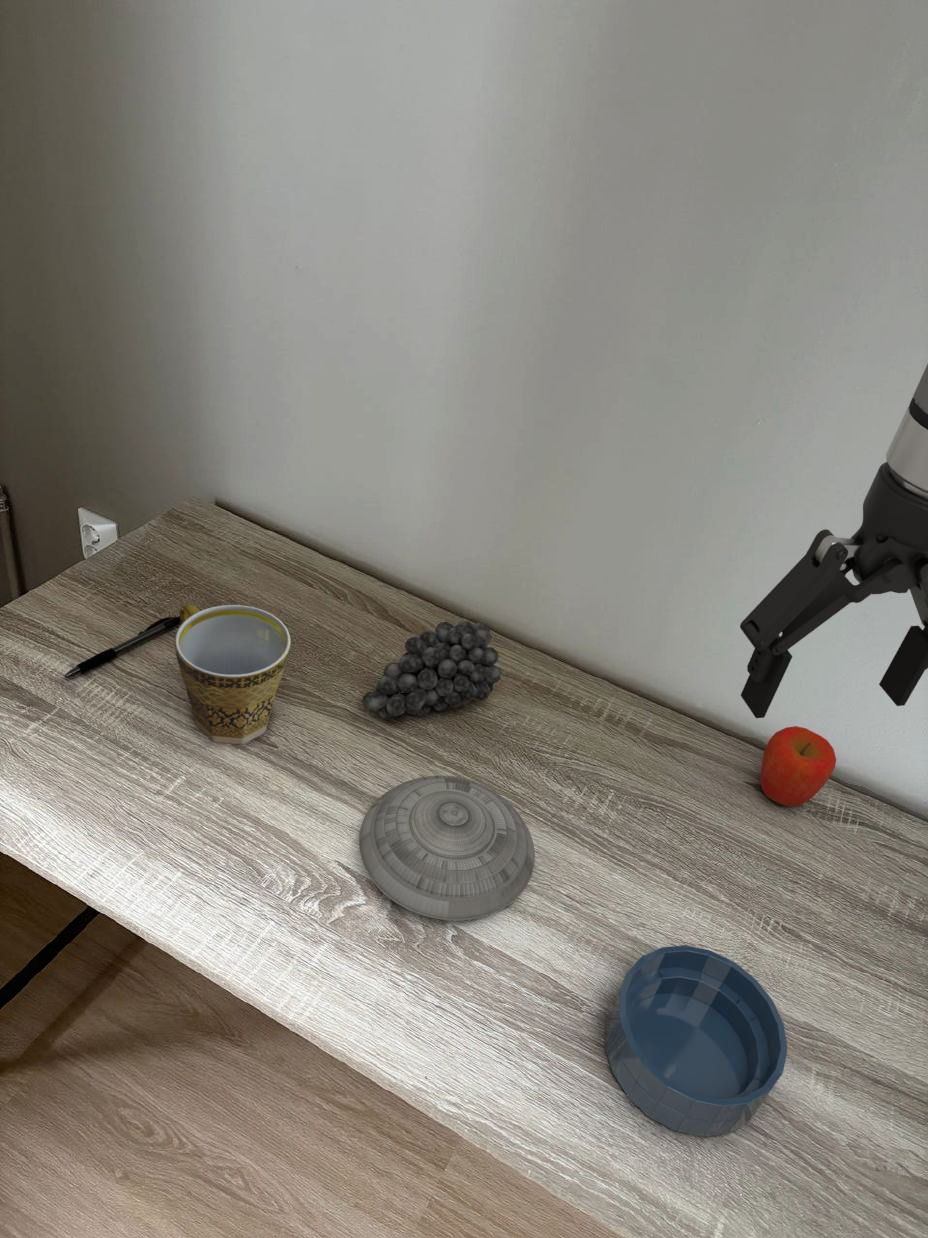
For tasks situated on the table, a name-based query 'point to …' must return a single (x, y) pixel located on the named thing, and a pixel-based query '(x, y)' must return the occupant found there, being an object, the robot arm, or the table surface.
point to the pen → (124, 646)
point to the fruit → (438, 672)
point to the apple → (796, 765)
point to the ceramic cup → (231, 668)
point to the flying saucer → (447, 848)
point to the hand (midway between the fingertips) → (823, 700)
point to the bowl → (695, 1040)
